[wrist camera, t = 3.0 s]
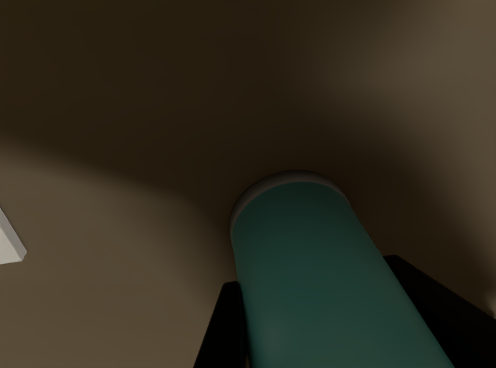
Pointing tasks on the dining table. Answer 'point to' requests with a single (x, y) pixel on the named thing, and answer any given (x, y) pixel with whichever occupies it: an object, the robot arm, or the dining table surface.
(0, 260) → the paper
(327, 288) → the canister
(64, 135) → the dining table surface
